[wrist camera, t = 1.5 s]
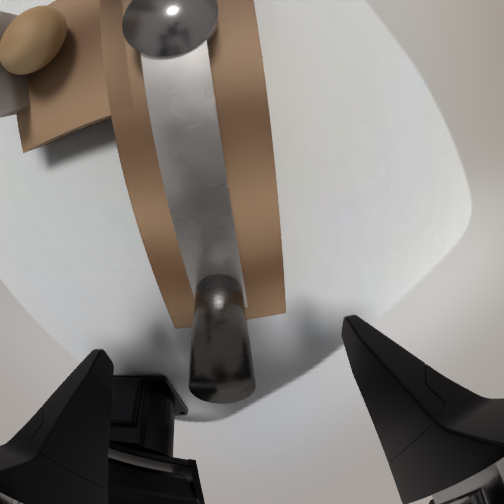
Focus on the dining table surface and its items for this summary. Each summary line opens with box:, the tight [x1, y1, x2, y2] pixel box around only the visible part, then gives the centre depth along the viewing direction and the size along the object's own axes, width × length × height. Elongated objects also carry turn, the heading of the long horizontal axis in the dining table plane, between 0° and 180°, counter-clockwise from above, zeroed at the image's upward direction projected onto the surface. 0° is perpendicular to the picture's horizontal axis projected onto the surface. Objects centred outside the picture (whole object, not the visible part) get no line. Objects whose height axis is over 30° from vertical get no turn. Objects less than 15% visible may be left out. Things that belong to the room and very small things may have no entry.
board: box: [0, 0, 286, 329], centre depth 9 cm, size 18×11×5 cm, turn 7°
